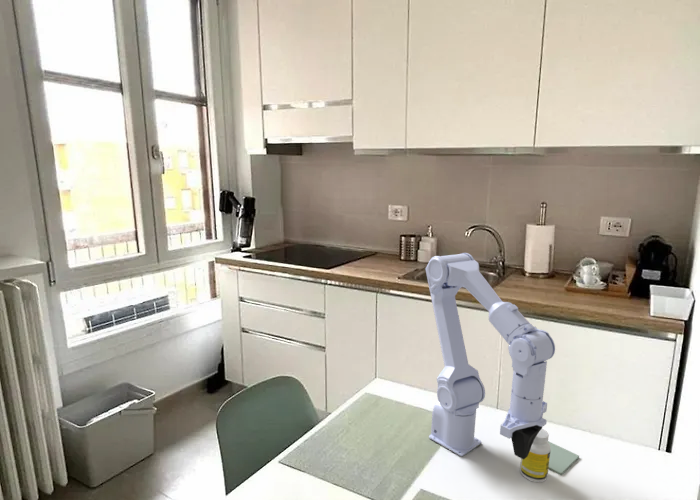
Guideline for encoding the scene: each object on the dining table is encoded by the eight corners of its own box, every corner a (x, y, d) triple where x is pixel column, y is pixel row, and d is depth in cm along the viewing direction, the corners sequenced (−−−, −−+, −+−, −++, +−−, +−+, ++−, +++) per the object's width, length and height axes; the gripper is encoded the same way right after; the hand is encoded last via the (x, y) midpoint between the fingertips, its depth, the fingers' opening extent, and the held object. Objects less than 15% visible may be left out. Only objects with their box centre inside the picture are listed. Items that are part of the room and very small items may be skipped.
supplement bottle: (549, 484, 95) (554, 441, 93) (521, 480, 96) (526, 438, 94) (544, 467, 100) (549, 426, 98) (518, 464, 101) (522, 423, 99)
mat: (525, 457, 103) (525, 455, 103) (544, 441, 109) (544, 439, 109) (560, 475, 97) (561, 473, 97) (579, 457, 103) (579, 455, 103)
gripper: (528, 414, 82) (521, 482, 84) (564, 388, 91) (557, 450, 94) (492, 398, 87) (486, 463, 89) (530, 375, 96) (524, 434, 99)
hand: (520, 455), depth 92 cm, fingers closed
